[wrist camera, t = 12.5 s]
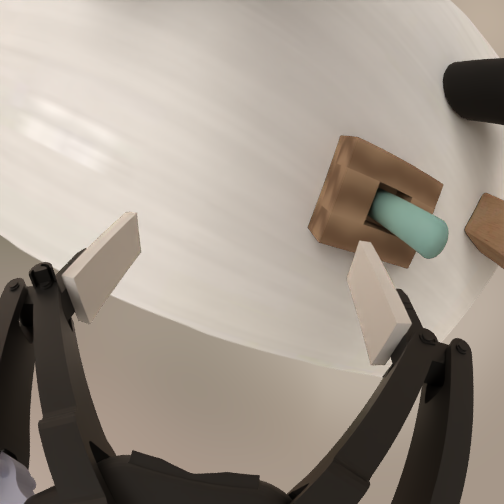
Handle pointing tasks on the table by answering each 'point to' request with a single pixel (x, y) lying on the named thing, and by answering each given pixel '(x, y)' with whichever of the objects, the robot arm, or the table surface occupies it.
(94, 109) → the table surface
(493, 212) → the wooden block
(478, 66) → the coffee jar
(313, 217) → the socket block
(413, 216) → the pin
